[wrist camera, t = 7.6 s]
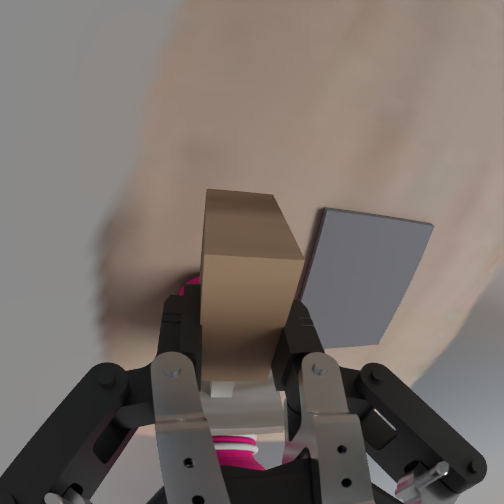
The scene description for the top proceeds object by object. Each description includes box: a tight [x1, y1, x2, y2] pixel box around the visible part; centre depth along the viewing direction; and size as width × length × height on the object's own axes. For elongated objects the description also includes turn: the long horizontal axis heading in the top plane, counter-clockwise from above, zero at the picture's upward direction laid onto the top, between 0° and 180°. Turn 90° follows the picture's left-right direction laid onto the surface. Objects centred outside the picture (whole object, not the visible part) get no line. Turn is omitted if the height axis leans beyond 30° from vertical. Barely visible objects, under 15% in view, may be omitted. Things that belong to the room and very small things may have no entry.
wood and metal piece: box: [199, 189, 305, 435], centre depth 13 cm, size 12×7×5 cm, turn 172°
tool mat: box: [299, 208, 434, 349], centre depth 28 cm, size 16×12×1 cm
